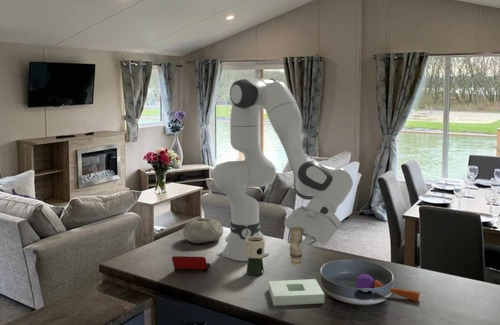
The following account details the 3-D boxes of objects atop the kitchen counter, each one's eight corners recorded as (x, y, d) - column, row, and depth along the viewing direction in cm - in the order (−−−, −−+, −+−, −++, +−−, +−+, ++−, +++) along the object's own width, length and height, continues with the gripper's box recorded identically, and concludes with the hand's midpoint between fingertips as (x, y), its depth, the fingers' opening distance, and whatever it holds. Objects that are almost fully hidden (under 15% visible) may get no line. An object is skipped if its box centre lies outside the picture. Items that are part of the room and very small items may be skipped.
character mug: (256, 280, 167) (255, 244, 165) (239, 276, 171) (238, 241, 169) (270, 270, 176) (270, 236, 174) (254, 266, 180) (254, 233, 178)
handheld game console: (210, 265, 182) (210, 247, 181) (205, 276, 171) (205, 257, 170) (178, 264, 183) (178, 246, 182) (171, 275, 172) (171, 256, 171)
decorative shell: (208, 232, 224) (208, 212, 222) (231, 241, 210) (231, 219, 209) (175, 240, 212) (175, 218, 211) (198, 250, 199) (197, 227, 197)
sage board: (268, 289, 159) (268, 281, 159) (315, 287, 161) (315, 279, 160) (273, 305, 147) (273, 296, 147) (324, 303, 149) (324, 294, 148)
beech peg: (289, 262, 154) (289, 226, 152) (300, 262, 154) (301, 226, 153) (291, 266, 150) (291, 230, 148) (303, 266, 150) (303, 229, 149)
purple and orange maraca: (417, 294, 146) (354, 278, 155) (416, 310, 148) (353, 293, 157) (421, 284, 151) (359, 268, 160) (419, 299, 153) (358, 283, 162)
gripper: (294, 199, 162) (271, 231, 158) (334, 212, 144) (308, 248, 141) (305, 210, 165) (282, 242, 161) (345, 224, 147) (319, 260, 144)
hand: (294, 245), depth 151 cm, fingers closed on beech peg, 4 cm apart
